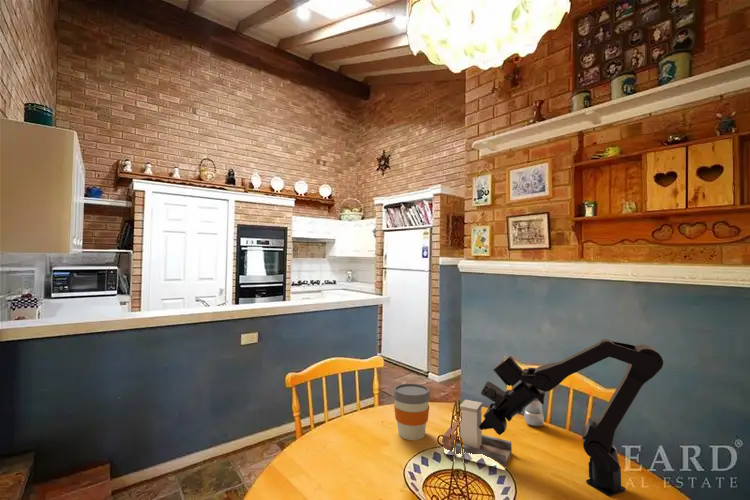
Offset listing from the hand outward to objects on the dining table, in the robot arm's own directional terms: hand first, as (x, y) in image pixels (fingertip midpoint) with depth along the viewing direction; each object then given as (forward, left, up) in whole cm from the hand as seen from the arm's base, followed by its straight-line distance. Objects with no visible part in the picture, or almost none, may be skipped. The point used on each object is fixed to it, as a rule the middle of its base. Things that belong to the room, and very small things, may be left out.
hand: (480, 427), depth 109 cm
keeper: (+2, +2, -6) cm, 7 cm away
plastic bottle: (+10, -32, -8) cm, 34 cm away
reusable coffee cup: (+20, +13, -8) cm, 25 cm away
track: (+1, +1, -8) cm, 8 cm away
